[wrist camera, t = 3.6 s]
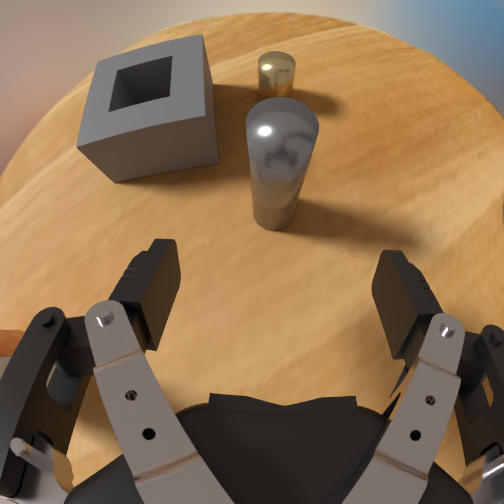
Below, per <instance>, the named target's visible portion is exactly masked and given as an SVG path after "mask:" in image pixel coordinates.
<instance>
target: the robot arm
mask: <svg viewBox="0 0 504 504" xmlns="http://www.w3.org/2000/svg"><path fill="white" fill-rule="evenodd" d="M503 216H504V204H503ZM180 280H181V272H180V265H179V259H178V252H177V245H176V242H175V240H174V239H155V240H154V241H153V243H152V245H151V246H150V248H149V250H148V251H142V252H140V253H139V254H138V255H137V256H135V257H134V258H133V259H132V261H131V262H130V264H129V265H128V269H126V270H125V272H124V274H123V276H122V277H121V279H120V280H119V282H118V284H117V285H116V287H115V289H114V290H113V292H112V294H111V295H110V297H109V299H108V300H106V301H102V302H99V303H97V304H95V305H93V306H92V307H91V308H90V309H89V310H88V311H87V313H86V315H85V316H81V317H72V318H66V317H65V315H64V313H63V311H62V310H61V309H60V308H57V307H49V308H46V309H43V310H42V311H40V312H39V313H38V314H37V315H36V316H35V317H34V318H33V320H32V321H31V323H30V325H29V326H28V328H27V330H26V332H25V333H24V335H23V337H22V339H21V340H20V342H19V344H18V346H17V348H16V349H15V351H14V353H13V355H12V357H11V359H10V361H9V363H8V365H7V367H6V369H5V371H4V373H3V375H2V377H1V379H0V497H2V498H5V499H7V500H9V501H12V502H14V503H16V504H504V331H503V330H502V329H501V328H499V327H498V326H495V325H487V326H485V327H484V328H483V330H482V331H481V333H480V334H476V333H471V332H467V331H465V330H464V327H463V325H462V324H461V322H460V321H459V320H458V319H456V318H455V317H453V316H452V315H449V314H446V313H443V311H442V309H441V307H440V305H439V303H438V301H437V299H436V298H435V296H434V294H433V292H432V290H430V287H429V285H428V283H427V282H426V280H425V278H424V276H423V274H422V273H421V271H420V270H419V269H417V268H416V267H415V266H414V265H413V264H411V263H409V262H408V260H407V258H406V257H405V255H404V253H403V252H402V251H399V250H383V251H382V253H381V255H380V259H379V262H378V265H377V269H376V272H375V275H374V278H373V282H372V296H373V299H374V302H375V304H376V307H377V310H378V313H379V316H380V319H381V322H382V325H383V328H384V331H385V334H386V338H387V341H388V344H389V347H390V351H391V354H392V357H393V360H397V359H404V360H405V365H404V366H403V368H402V370H401V372H400V374H399V376H398V378H397V380H396V382H395V384H394V386H393V388H392V390H391V392H390V394H389V396H388V398H387V400H386V401H385V403H384V405H383V406H382V408H381V410H380V411H379V412H376V411H373V410H371V409H369V408H365V407H362V406H357V401H356V396H344V397H322V398H318V399H314V400H310V401H306V402H301V403H297V404H293V405H288V406H282V405H278V404H274V403H270V402H266V401H262V400H258V399H255V398H251V397H248V396H237V395H225V394H214V393H210V397H209V403H202V404H198V405H194V406H191V407H188V408H185V409H183V410H181V411H179V412H177V413H175V414H174V412H173V410H172V408H171V406H170V405H169V403H168V401H167V399H166V397H165V395H164V393H163V392H162V390H161V388H160V386H159V384H158V382H157V380H156V378H155V376H154V374H153V372H152V370H151V368H150V366H149V364H148V362H147V359H146V357H145V355H144V354H145V352H146V349H147V350H153V351H157V348H158V345H159V342H160V340H161V337H162V334H163V331H164V328H165V325H166V322H167V320H168V317H169V314H170V311H171V308H172V306H173V303H174V300H175V297H176V295H177V292H178V289H179V286H180ZM54 364H55V366H56V367H55V369H54V372H53V374H52V376H51V379H50V381H49V383H48V386H47V380H48V377H49V375H50V373H51V370H52V368H53V366H54ZM91 375H94V376H95V379H96V382H97V385H98V389H99V392H100V395H101V398H102V401H103V404H104V407H105V409H106V412H107V415H108V418H109V420H110V423H111V426H112V428H113V431H114V433H115V436H116V438H117V440H118V443H119V445H120V448H121V450H122V452H123V454H121V455H120V456H119V457H117V458H116V459H115V460H113V461H112V462H111V463H109V464H108V465H106V466H105V467H103V468H102V469H101V470H99V471H98V472H96V473H95V474H93V475H92V476H91V477H89V478H88V479H86V480H85V481H83V482H82V483H80V484H79V485H77V486H76V487H73V484H72V481H73V478H74V476H73V473H72V467H71V463H70V461H69V459H68V458H67V457H66V454H67V450H68V447H69V443H70V440H71V436H72V433H73V429H74V426H75V423H76V419H77V416H78V413H79V410H80V407H81V404H82V401H83V398H84V395H85V392H86V389H87V386H88V383H89V381H90V378H91ZM486 377H488V380H489V383H490V385H491V388H492V391H493V395H494V399H493V403H492V405H491V407H490V408H489V404H488V401H487V398H486V395H485V392H484V389H483V386H482V382H483V381H484V380H485V378H486ZM453 407H454V409H455V414H456V418H457V422H458V426H459V431H460V436H461V441H462V446H463V452H464V457H465V464H466V468H465V471H464V473H463V477H462V478H461V479H460V480H459V482H457V481H455V480H454V479H453V478H452V477H451V476H450V475H449V474H448V473H446V472H445V471H444V470H443V469H442V468H441V467H440V466H439V465H437V464H436V463H435V462H434V458H435V456H436V454H437V451H438V449H439V446H440V444H441V441H442V439H443V436H444V434H445V431H446V428H447V425H448V423H449V420H450V417H451V414H452V411H453Z"/></svg>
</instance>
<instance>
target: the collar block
mask: <svg viewBox="0 0 504 504" xmlns="http://www.w3.org/2000/svg"><path fill="white" fill-rule="evenodd" d="M76 147H77V148H78V149H79V150H80V151H81V152H82V153H83V154H84V155H85V156H86V157H87V158H88V159H89V160H90V161H91V162H92V163H93V164H94V165H95V166H97V167H98V168H99V169H100V170H101V171H102V172H103V173H104V174H105V175H106V176H107V177H108V178H109V179H110V180H112V181H113V182H114V183H117V182H121V181H126V180H130V179H135V178H140V177H145V176H150V175H155V174H160V173H165V172H171V171H176V170H182V169H188V168H194V167H200V166H206V165H213V164H219V159H218V147H217V135H216V122H215V108H214V94H213V82H212V78H211V73H210V68H209V63H208V59H207V54H206V49H205V44H204V40H203V35H202V34H200V35H195V36H189V37H184V38H179V39H175V40H170V41H166V42H162V43H158V44H154V45H150V46H146V47H143V48H139V49H136V50H132V51H129V52H126V53H122V54H119V55H116V56H113V57H110V58H108V59H105V60H102V61H99V62H98V63H97V66H96V69H95V72H94V76H93V79H92V82H91V86H90V89H89V93H88V97H87V101H86V104H85V108H84V113H83V117H82V121H81V126H80V131H79V136H78V141H77V146H76Z"/></svg>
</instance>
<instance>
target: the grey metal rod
mask: <svg viewBox="0 0 504 504" xmlns="http://www.w3.org/2000/svg"><path fill="white" fill-rule="evenodd" d="M318 132H319V123H318V120H317V117H316V115H315V114H314V112H313V111H312V110H311V109H310V108H309V107H308V106H307V105H305V104H304V103H302V102H300V101H298V100H295V99H292V98H287V97H273V98H268V99H265V100H263V101H261V102H259V103H257V104H256V105H255V106H254V107H253V108H252V109H251V110H250V111H249V113H248V115H247V118H246V134H247V145H248V157H249V168H250V180H251V191H252V203H253V214H254V218H255V220H256V222H257V223H258V224H259V225H260V226H261V227H262V228H264V229H266V230H270V231H277V230H281V229H283V228H285V227H286V226H287V225H288V224H289V223H290V221H291V219H292V217H293V214H294V210H295V207H296V204H297V201H298V198H299V195H300V191H301V188H302V185H303V182H304V179H305V175H306V172H307V169H308V166H309V162H310V159H311V156H312V152H313V149H314V146H315V142H316V139H317V136H318Z"/></svg>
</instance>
